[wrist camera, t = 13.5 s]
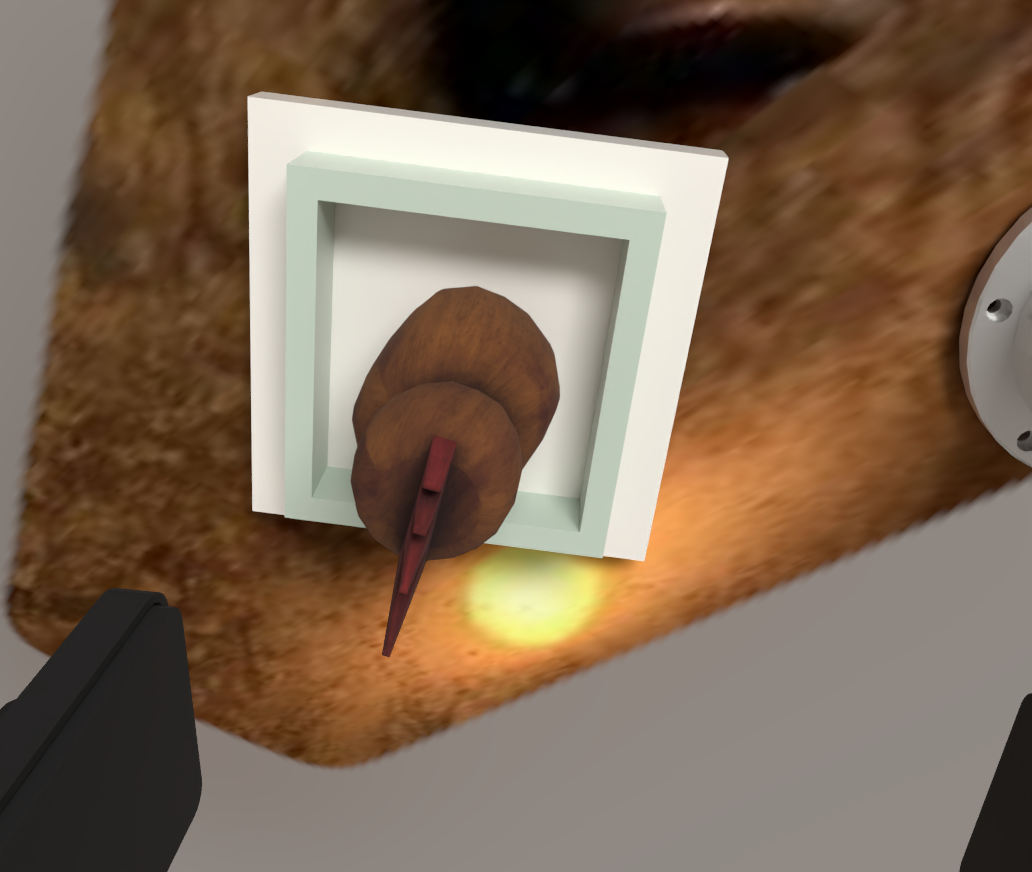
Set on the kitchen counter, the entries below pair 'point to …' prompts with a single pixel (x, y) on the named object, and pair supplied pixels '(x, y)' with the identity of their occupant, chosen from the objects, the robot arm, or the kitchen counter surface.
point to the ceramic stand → (463, 263)
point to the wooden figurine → (449, 430)
